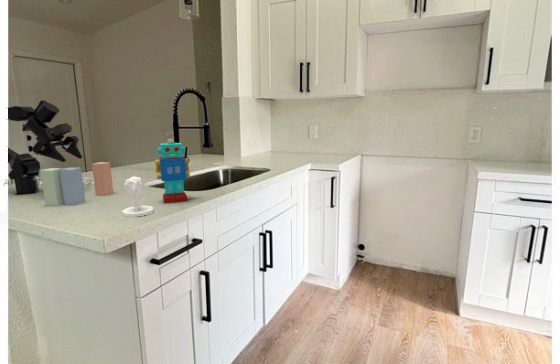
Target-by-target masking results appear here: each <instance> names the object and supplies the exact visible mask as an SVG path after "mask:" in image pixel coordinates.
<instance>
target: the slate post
mask: <svg viewBox="0 0 560 364" xmlns="http://www.w3.org/2000/svg"><path fill="white" fill-rule="evenodd" d="M60 175H61V182H62V188H63V195H64V202H65V203H64V205H66V206H67V205H69V206H71V205H73V206H74V205H75V206H76V205H77V206H78V205H79V204H82V203H85V202H86V196H85V195H86V194H85V189H84V182H83V174H82V168H81V167H66V168H62V169H61V170H60Z"/></svg>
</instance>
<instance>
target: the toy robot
mask: <svg viewBox="0 0 560 364" xmlns="http://www.w3.org/2000/svg"><path fill="white" fill-rule="evenodd" d="M169 133H171V134H173V132H172V131H169V132H167V134H166V135H168V134H169ZM156 152H157V153H158V154H160V155H161V156H160V157H159V158H158V159H155V161H154V164H155V173H156V180H157V181H158V180H161V182H163V183H164V193H163V194H162V200H163V203H164V204H169V203H170V204H171V203H181V202H188V195H187V193H186V192H185V188H184V187H185V185H184V181H185V180H187V178H190V176H191V172H190V170H189V169H190V167H189V162H190V161H189V157H184V156H183V153H185V152H186V147H185V146H183V145H182V143H181V142H175V140H174V138H168V139H167V142H166V143H160V147H158V148H157V151H156Z"/></svg>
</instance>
